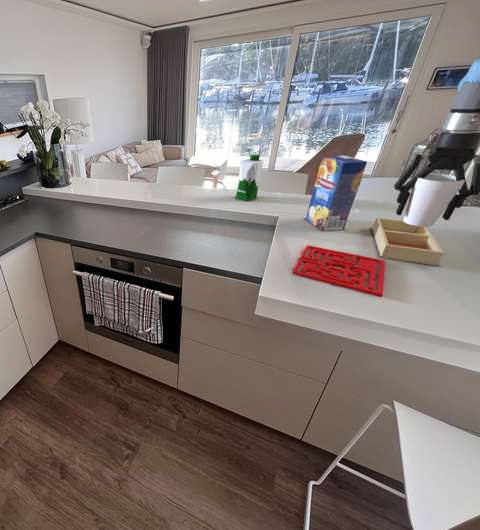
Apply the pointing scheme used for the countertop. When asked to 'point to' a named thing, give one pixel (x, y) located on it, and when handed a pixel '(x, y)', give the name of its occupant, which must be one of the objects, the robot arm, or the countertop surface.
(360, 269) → the maze puzzle
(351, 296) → the countertop surface
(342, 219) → the juice carton
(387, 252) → the divided tray
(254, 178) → the milk carton
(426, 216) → the foam cup
